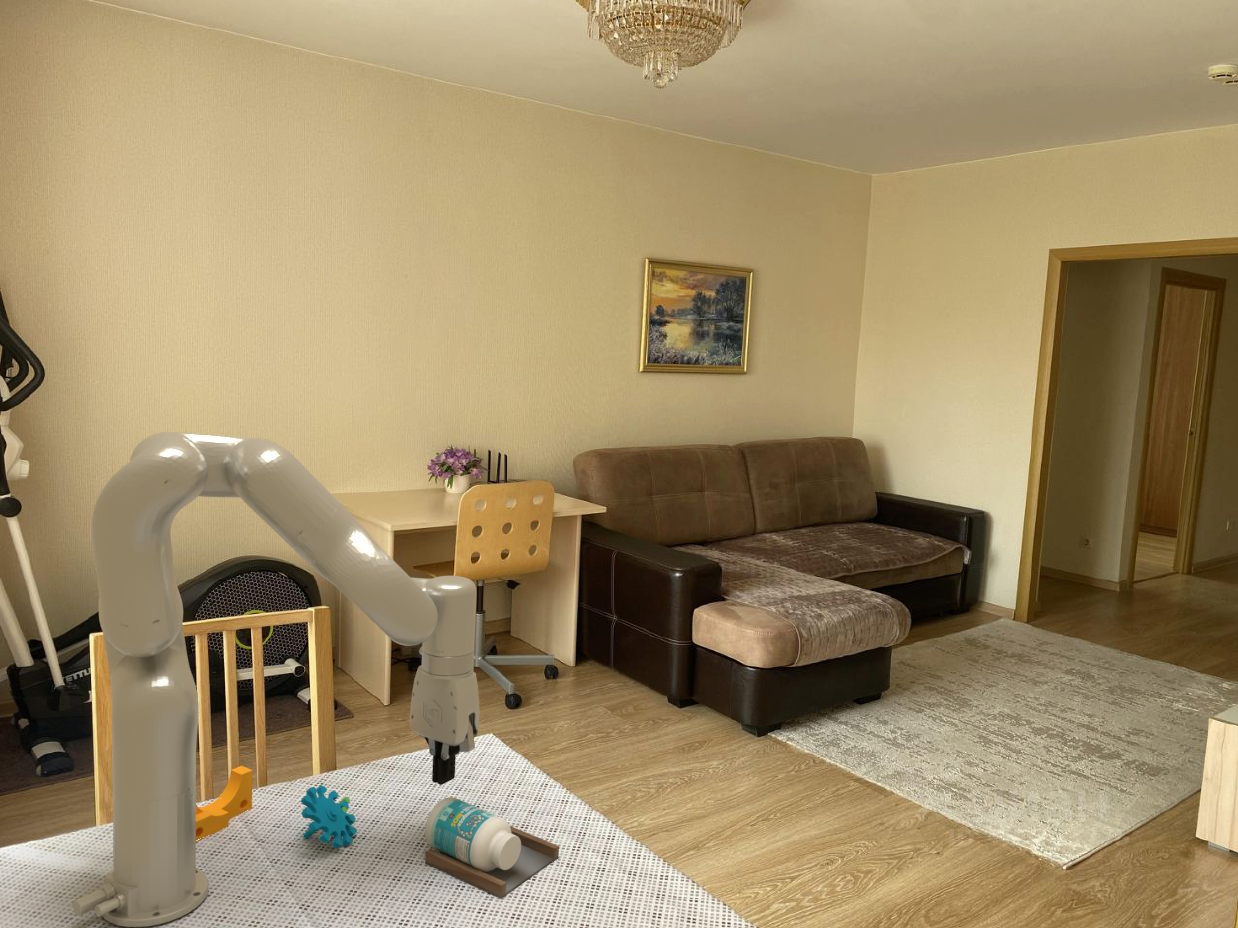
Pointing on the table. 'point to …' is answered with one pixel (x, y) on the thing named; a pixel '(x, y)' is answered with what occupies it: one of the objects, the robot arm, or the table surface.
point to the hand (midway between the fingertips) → (443, 779)
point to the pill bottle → (472, 835)
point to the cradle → (499, 881)
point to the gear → (328, 816)
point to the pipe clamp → (226, 804)
